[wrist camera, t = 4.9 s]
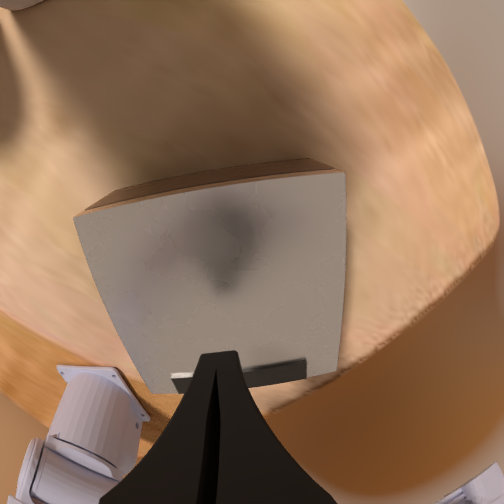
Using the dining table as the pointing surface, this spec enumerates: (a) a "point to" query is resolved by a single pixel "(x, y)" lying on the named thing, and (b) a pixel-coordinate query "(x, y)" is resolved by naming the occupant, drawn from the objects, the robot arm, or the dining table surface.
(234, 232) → the lid
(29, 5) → the cylinder vase
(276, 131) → the dining table surface
